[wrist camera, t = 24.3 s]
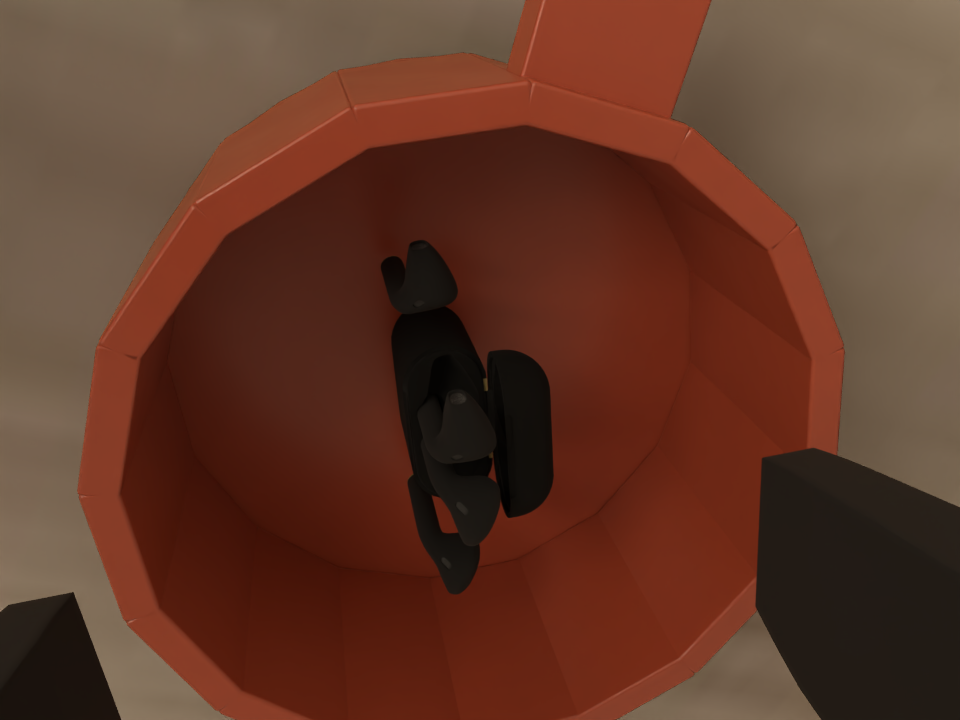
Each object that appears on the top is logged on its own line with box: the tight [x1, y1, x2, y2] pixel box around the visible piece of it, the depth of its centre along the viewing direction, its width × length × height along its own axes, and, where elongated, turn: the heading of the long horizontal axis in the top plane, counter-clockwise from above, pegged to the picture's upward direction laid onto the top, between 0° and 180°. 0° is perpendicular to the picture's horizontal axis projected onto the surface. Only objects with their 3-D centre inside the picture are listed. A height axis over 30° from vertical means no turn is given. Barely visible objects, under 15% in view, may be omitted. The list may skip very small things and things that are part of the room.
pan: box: [77, 0, 845, 720], centre depth 16 cm, size 12×18×6 cm
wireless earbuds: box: [381, 240, 554, 595], centre depth 16 cm, size 7×2×5 cm, turn 4°
